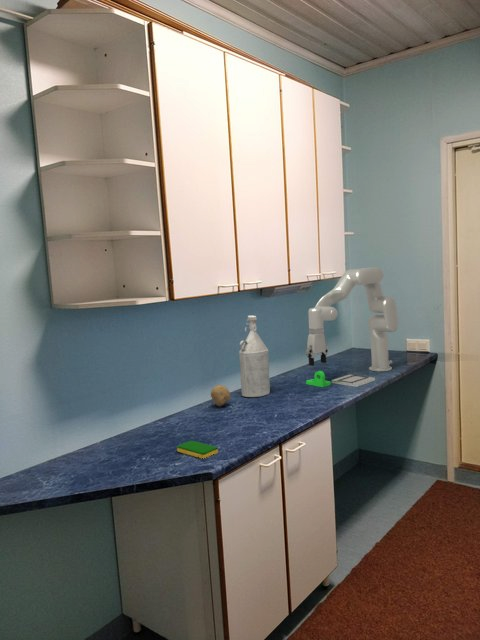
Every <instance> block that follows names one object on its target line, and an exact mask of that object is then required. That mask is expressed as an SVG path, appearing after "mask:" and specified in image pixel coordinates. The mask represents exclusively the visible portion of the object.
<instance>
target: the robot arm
mask: <svg viewBox="0 0 480 640" xmlns="http://www.w3.org/2000/svg"><path fill="white" fill-rule="evenodd" d="M383 278H384V272H383V270H382V269H381V268H380V267H362V268H354V269H353V268H352V269H346V270H345V271H344V272H343V274H342V276H341V277H340V278H339V280H338V282H337V283H336V285H335V286H333V287H334V288H333V289H331V290H329V291H328V292H327V293H326V294H324V295H323V296H322V297H321V298H320V299H319V300H318V301H317V303H316V305H315V306H314V307H311V308H309V309H308V335H307V343H306V345H307V346H306V347H307V348H306V349H305V351H304V352H305V354H306V356H307V358H308V366H312V367H314V366H315V357H314V356H315V355H317V354H320V363H322V364H326V363H327V355H328V350H329V346H328V345H327V344H326V337H325V331H324V330H325V329H324V322H325V321H327V322H328V321H329V322H332V321H334V320H336V319H337V317H339V316H338V315H339V312H338V310H337V308H335V307H334V306H332V305H334V304H336V303H339V302H342V301H344V300H346V299H347V298H348V296H349V295H350V293H351V292H352V291H353V289H354V287H355V286H359V285H362V286H363V287H364V288H365V291H366V297H367V299H366V300H367V305H368V306H367V307H368V310H369V311H370V312H371V313H374V314H373V315H371V316H370V317H369V318H368V319H367V320H368V321H367V325H368V330H369V336H370V354H371V356H370V357H371V366H369V367H368V370H369V371H370V372H388V371H392V370H393V369H392V368H393V367H392V366H390V365H391V364H393V360H389V358H390V357H389V338H388V335H387V333H394V332H396V331H397V329H399V328H398V327H399V317H398V307H397V303H396V301H395V299H394V298H393V297H392V296H389V295H384V294H383V289H382V285H381V283H380V282H382V280H383ZM375 313H376V314H375Z"/></svg>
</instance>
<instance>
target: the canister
mask: <svg viewBox="0 0 480 640" xmlns="http://www.w3.org/2000/svg"><path fill="white" fill-rule="evenodd" d="M248 321H249V323H247V322H248ZM247 325H249V326H248V327H247ZM248 329H249V333H248V335H247V336H246V338H245V340H241V341H240V342H239V349H240V350H239V351H238V354H239V355H238V357H239V369H240V370H239V371H240V373H239V374H240V385H241V386H240V387H241V389H240V390H241V396H242V397H245V398H258V397H263V396H267V395H269V394H270V393H271V390H270V389H271V386H270V359H269V358H270V357H269V352H270V351H269V349H268V347H267V346H266V344H265V342H264V340H262V339H261V337H260V335H259V334H258V332H257V316H256V315H247V320H246V325H245V327H244V332H245V333H247V332H248Z"/></svg>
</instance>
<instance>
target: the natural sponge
mask: <svg viewBox="0 0 480 640" xmlns="http://www.w3.org/2000/svg"><path fill="white" fill-rule="evenodd" d="M210 397H211V400H212V401H213V403H214V404H215V405H216V406H218V407H222V406H224V404H226V403H227V402H229V401H230V399H231V393H230V391H229V389H228V387H226V386H225V385H223V384H217V385H216V386H214V387H212V389H211V390H210Z"/></svg>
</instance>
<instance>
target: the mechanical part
mask: <svg viewBox="0 0 480 640" xmlns="http://www.w3.org/2000/svg"><path fill="white" fill-rule="evenodd" d="M331 384H332V381H330V380H329V381H328V380H326V375H325V373H324V371H322V370H318V371H315V373H314V378H312V379H308V380H305V385H308V386H309V385H310V386H314V387H321V388H325V387H328V386H330V385H331Z"/></svg>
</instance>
